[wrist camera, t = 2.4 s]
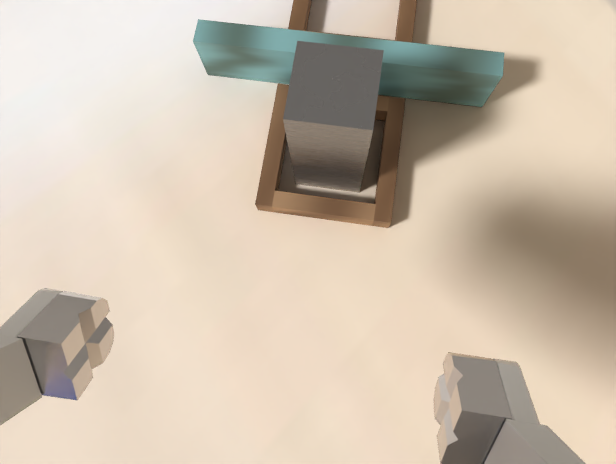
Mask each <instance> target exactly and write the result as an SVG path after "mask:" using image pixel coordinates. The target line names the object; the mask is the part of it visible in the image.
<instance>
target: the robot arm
mask: <svg viewBox="0 0 616 464" xmlns="http://www.w3.org/2000/svg"><path fill="white" fill-rule="evenodd" d="M109 311H110V310H109V306H108V302H107V300H105V299H103V298H99V297H93V296H88V295H82V294H77V293H72V292H66V291H64V292H63V291H58V290H53V289H47V288H44V289H41V290H38V291H37V292H36V293H35V294H34V295H33V296H32V297H31V298H30V299H29V300H28V301H27V302H26V303H25V304H24V305H23V306H22V307H21V308H20V309H19V310H18V311H17V312H16V313H15V314H14V315H12V316H11V317H10V318H9V319H8V320H7V321H6V322H5V323H4V324H3V325H2V326H1V327H0V425H2V424H3V423H5V422H6V421H7V420H9V419H10V418H12V417H13V416H15V415H16V414H18V413H19V412H21V411H22V410H24V409H25V408H27V407H28V406H30V405H31V404H33V403H34V402H36V401H37V400H39V399H40V398H42V395H44V396H51V397H58V398H65V399H72V400H78V399H79V397H80V396H81V394H82V393H83V392H84V390H85V389H86V387H87V386H88V384H89V383H90V381H91V380H92V378H93V373H92V369H93V368H95V367H97V366H98V365H100V364H102V363H103V362H104V361H105V359H106V358H107V356H108V355H109V353H110V350H111V347H112V344H113V339H114V330H113V325H112V324H111V323H110V321H109V320H108V319H107V318H106V315H107V314H108V313H109ZM443 368H444V374H443V375H441V376H439V377H438V380H437V383H436V387H435V393H434V415H435V419H436V420H437V422H438V423H439V424H440V425H441V426H440V429H439V432H438V434H437V441H438V449H439V457H440V464H585V463H584V462H583V461H582V460H581V459H580V458H579V457H578V456H577V455H576V454H575V453H574V452H573V451H572V450H571V449H570V448H569V447H568V446H567V445H566V444H565V443H564V442H563V441H562V440H561V439H560V438H559V437H558V436H557V435H556V434H555V433H554V432H553V431H552V430H551V429H550V428H549V427H548V426H546V425H541V424H540V423H539V420H538V417H537V414H536V411H535V408H534V405H533V402H532V400H531V397H530V394H529V391H528V388H527V385H526V382H525V380H524V377H523V374H522V371H521V368H520V366H519V364H518V363H517V362H513V361H506V360H499V359H491V358H485V357H478V356H471V355H464V354H457V353H451V352H448V354H447V355H446V357H445V359H444V362H443Z"/></svg>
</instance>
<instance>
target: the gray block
mask: <svg viewBox="0 0 616 464" xmlns="http://www.w3.org/2000/svg"><path fill="white" fill-rule="evenodd" d="M383 53H384V50H377V49H368V48H359V47H350V46H341V45H332V44H323V43H314V42H305V41H297V45H296V50H295V56H294V61H293V67H292V72H291V78H290V83H289V89H288V94H287V100H286V105H285V111H284V116H283V122H284V127H285V132H286V137H287V143H288V148H289V153H290V158H291V163H292V169H293V174H294V179H295V184H300V185H308V186H315V187H323V188H330V189H338V190H345V191H353V192H360V187H361V183H362V179H363V174H364V170H365V165H366V161H367V156H368V152H369V147H370V143H371V138H372V134H373V129H374V121H375V114H376V106H377V98H378V91H379V83H380V76H381V68H382V60H383Z"/></svg>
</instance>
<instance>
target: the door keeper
mask: <svg viewBox="0 0 616 464" xmlns="http://www.w3.org/2000/svg"><path fill="white" fill-rule="evenodd" d="M311 1H312V0H294V1H293V6H292V11H291V17H290V22H289V27H288V29H281V28H272V27H263V26H254V25H245V24H235V23H226V22H217V21H208V20H199V19H198V23H197V27H196V31H195V35H194V39H193V42H194V45H195V47H196V49H197V51H198V54H199V56H200V58H201V60H202V63H203V65H204V67H205V69H206V72H207V74H208V75H214V76H223V77H231V78H240V79H248V80H257V81H265V82H274V83H282V84H278V86H277V91H276V97H275V102H274V107H273V113H272V118H271V123H270V129H269V134H268V139H267V145H266V150H265V155H264V161H263V166H262V171H261V177H260V182H259V187H258V193H257V198H256V203H255V205H256V207H257V208H258V210H263V211H270V212H277V213H284V214H291V215H299V216H306V217H313V218H320V219H327V220H335V221H342V222H349V223H356V224H364V225H371V226H378V227H385V228H388V227H389V226H390V224H391V219H392V210H393V201H394V193H395V184H396V176H397V167H398V158H399V150H400V141H401V133H402V124H403V115H404V107H405V98H410V99H418V100H427V101H435V102H444V103H452V104H461V105H469V106H478V107H482V106H483V105H484V103H485V102H486V100H487V99H488V97H489V96H490V94H491V93H492V91H493V90H494V88H495V87H496V85H497V84H498V82H499V81H500V79H501V78H502V76H503V65H504V53H502V52H493V51H484V50H474V49H465V48H456V47H447V46H438V45H428V44H419V43H412V38H413V29H414V21H415V12H416V4H417V0H400V5H399V13H398V21H397V29H396V37H395V40H387V39H378V38H369V37H360V36H350V35H341V34H332V33H323V32H314V31H306V30H307V24H308V18H309V13H310V7H311ZM297 41H305V42H314V43H323V44H332V45H341V46H350V47H359V48H368V49H377V50H384V53H383V60H382V68H381V76H380V83H379V91H378V98H377V106H376V114H375V119H377V120H385V124H384V132H383V140H382V148H381V156H380V164H379V172H378V180H377V188H376V196H375V203H374V204H371V203H364V202H356V201H349V200H341V199H334V198H327V197H319V196H312V195H304V194H297V193H290V192H282V191H278V188H279V182H280V177H281V171H282V165H283V160H284V154H285V148H286V143H287V137H286V132H285V127H284V122H283V116H284V111H285V105H286V100H287V94H288V89H289V85H286V84H289V83H290V78H291V72H292V67H293V61H294V56H295V50H296V45H297ZM379 95H384V96H379ZM388 96H393V97H388ZM396 97H401V98H396Z"/></svg>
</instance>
